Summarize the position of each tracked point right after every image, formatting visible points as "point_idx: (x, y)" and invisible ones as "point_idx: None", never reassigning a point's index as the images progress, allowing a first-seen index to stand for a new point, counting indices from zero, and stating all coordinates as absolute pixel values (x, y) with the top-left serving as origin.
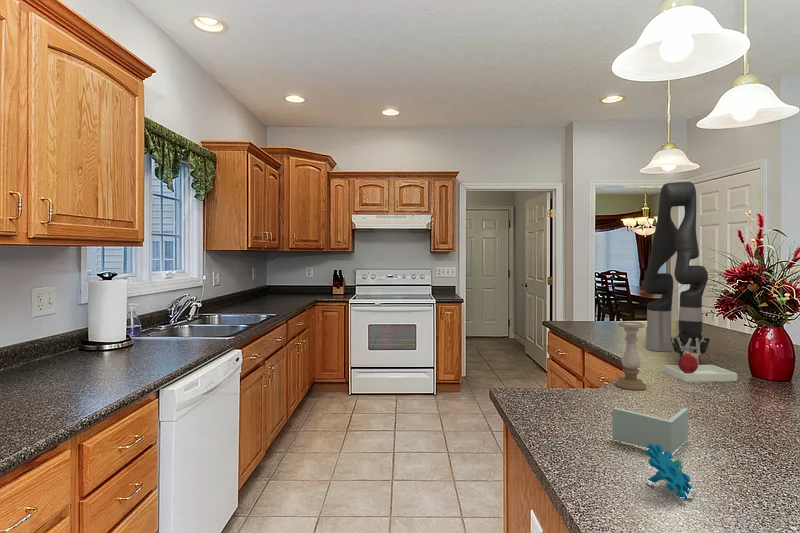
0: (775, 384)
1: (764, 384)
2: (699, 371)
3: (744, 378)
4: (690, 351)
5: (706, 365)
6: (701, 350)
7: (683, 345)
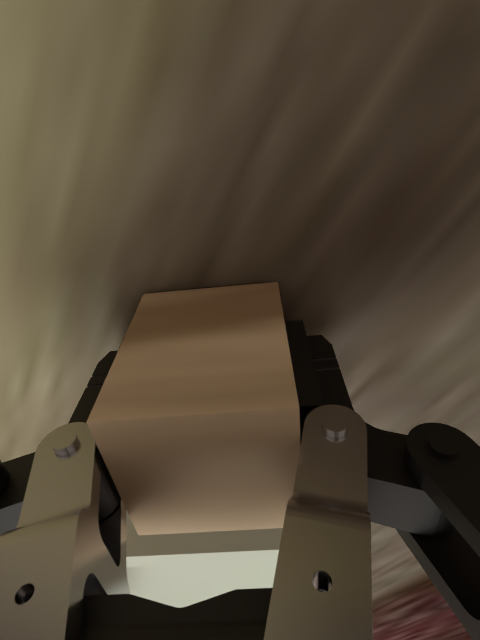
0: (454, 624)
1: (399, 625)
2: None
3: (395, 575)
4: (266, 420)
5: (244, 561)
6: (403, 531)
7: (67, 587)
